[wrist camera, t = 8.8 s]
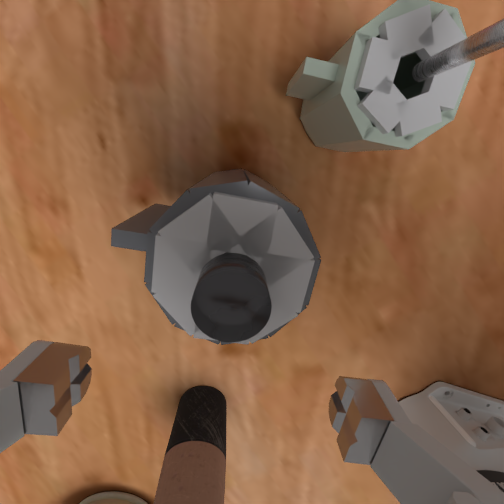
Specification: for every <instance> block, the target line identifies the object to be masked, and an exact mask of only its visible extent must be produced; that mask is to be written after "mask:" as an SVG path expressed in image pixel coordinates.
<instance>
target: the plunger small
mask: <svg viewBox="0 0 504 504" xmlns="http://www.w3.org/2000/svg"><path fill="white" fill-rule="evenodd" d="M501 48H504V19H502V20H500V21H498V22H496V23H495V24H493V25H491V26H489V27H487V28H485V29H483V30H481V31H479V32H477V33H475V34H473V35H471V36H470V37H468V38H466V39H464V40H462V41H460V42H458V43H456V44H454V45H452V46H450V47H448V48H446V49H444V50H443V51H441V52H439V53H437V54H435V55H433V56H431V57H429V58H427V59H425V60H423V61H421V62H419V63H418V64H416V65H415V66H414V68H413V71H412V77H413V79H414V80H415V81H417V82H421V81H423V80H426V79H428V78H431V77H433V76H436V75H438V74H440V73H443V72H445V71H448V70H450V69H453V68H455V67H457V66H460V65H462V64H465V63H467V62H470V61H472V60H475V59H477V58H479V57H482V56H484V55H487V54H489V53H492V52H494V51H496V50H499V49H501Z"/></svg>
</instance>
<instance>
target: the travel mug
mask: <svg viewBox="0 0 504 504" xmlns="http://www.w3.org/2000/svg"><path fill="white" fill-rule="evenodd" d="M225 472H226V400H225V397H224V396H223V394H222V393H221V392H220V391H218V390H217V389H215V388H212V387H208V386H197V387H194V388H191V389H189V390H188V391H186V392H185V393H184V394H183V396H182V397H181V400H180V403H179V406H178V410H177V413H176V417H175V421H174V424H173V428H172V432H171V435H170V439H169V443H168V446H167V450H166V453H165V457H164V461H163V465H162V470H161V474H160V478H159V483H158V487H157V491H156V495H155V500H154V504H224V493H225Z"/></svg>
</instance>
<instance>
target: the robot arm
mask: <svg viewBox="0 0 504 504" xmlns="http://www.w3.org/2000/svg"><path fill="white" fill-rule="evenodd" d="M90 358H91V349H90V348H89V347H87V346H80V345H73V344H66V343H59V342H49V341H42V340H37V341H35V342H33V343H31V344H30V345H29V346H28V347H27V348H26V349H25V350H23V351H22V352H21V353H20V354H19V355H18V356H17V357H15V358H14V359H13V360H12V361H11V362H10V363H9V364H7V365H6V366H5V367H4V368H3V369H2V370H1V371H0V453H1V452H2V451H4V450H5V449H7V448H8V447H9V446H11V445H12V444H14V443H15V442H16V441H18V440H19V439H21V438H22V437H23V436H24V434H36V435H52V436H58V434H59V433H60V431H61V430H62V428H63V427H64V425H65V424H66V422H67V421H68V420H69V418H70V417H71V415H72V406H74V405H75V404H77V403H78V402H80V401H81V400H82V398H83V397H84V395H85V394H86V392H87V389H88V387H89V384H90V381H91V375H92V372H91V368H90V366H89V365H88V364H87V362H88V361H89V360H90ZM335 387H336V389H337V391H336V392H335V393H334V394H332V395H331V398H330V402H329V417H330V421H331V425H332V427H333V428H334V429H335V430H336V431H337V432H338V433H339V435H338V437H337V443H338V446H339V449H340V452H341V455H342V458H343V461H344V462H350V463H358V464H366V465H371V466H370V467H371V468H372V469H373V470H374V472H375V473H376V474H377V475H378V476H379V478H380V479H381V480H382V481H383V483H384V484H385V485H386V486H387V487H388V489H389V490H390V491H391V492H392V494H393V495H394V496H395V497H396V498H397V500H398V501H399V502H400V503H401V504H504V401H502V400H499V399H495V398H492V397H489V396H486V395H483V394H480V393H476V392H473V391H470V390H467V389H464V388H460V387H457V386H454V385H451V384H448V383H445V382H436V383H434V384H432V385H430V386H429V387H428V388H426V389H425V390H424V391H422V392H420V393H418V394H415V395H413V396H410V397H407V398H405V399H403V400H401V401H399V402H398V401H397V399H396V398H395V396H394V395H393V393H392V392H391V390H390V388H389V387H388V385H387V384H386V383H385V382H384V381H383V380H373V379H361V378H352V377H342V376H339V378H338V379H337V381H336V383H335Z"/></svg>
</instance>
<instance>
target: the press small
mask: <svg viewBox="0 0 504 504" xmlns="http://www.w3.org/2000/svg"><path fill="white" fill-rule="evenodd" d="M466 38H467V36H466V33H465V30H464V27H463V24H462V21H461V18H460V15H459V12H458V9H457V8H454V7H451V6H447V5H444V4H440V3H437V2H433V1H429V0H397V1H396V2H395V3H394V4H392V5H391V6H390V7H388V8H387V9H386V10H384V11H383V12H382V13H380V14H379V15H378V16H376V17H375V18H374V19H372V20H371V21H370V22H368V23H367V24H366V25H364V26H363V27H362V28H360V29H359V30H358V31H356V32H355V34H354V35H353V36H352V37H351V38H350V39H349V40H348V41H347V42H346V43H345V44H344V45H343V46H342V47H341V48H340V49H339V50H338V51H337V53H336V54H335V55H334V56H333V57H332V58H331V59H330V60H329V61H328V62H326V61H322V60H318V59H314V58H310V57H306V58H305V60H304V61H303V63H302V64H301V65H300V67H299V68H298V70H297V71H296V73H295V74H294V76H293V77H292V79H291V80H290V81H289V83H288V87H287V92H286V95H287V96H291V97H296V98H300V99H303V103H302V111H301V116H300V119H301V121H302V123H303V126H304V129H305V131H306V133H307V134H308V136H309V137H310V138H311V140H312V141H313V143H314V144H315V146H317V147H322V148H326V149H331V150H336V151H341V152H360V151H383V150H405V149H410V148H411V147H413V146H414V145H416V144H417V143H419V142H421V141H422V140H424V139H425V138H427V137H428V136H430V135H431V134H433V133H434V132H436V131H437V130H439V129H440V128H442V127H443V126H445V125H446V124H448V123H449V122H451V121H452V120H453V119H454V117H455V115H456V112H457V109H458V107H459V104H460V102H461V99H462V96H463V94H464V91H465V88H466V86H467V83H468V81H469V78H470V75H471V73H472V70H473V68H474V65H475V60H472V61H470V62H467V63H465V64H462V65H460V66H457V67H455V68H453V69H450V70H448V71H445V72H443V73H440V74H438V75H436V76H433V77H431V78H428V79H426V80H423V81H421V82H417V81H415V80H414V79H413V77H412V71H413V68H414V66H415V65H416V64H418V63H419V62H421V61H423V60H425V59H427V58H429V57H431V56H433V55H435V54H437V53H439V52H441V51H443V50H444V49H446V48H448V47H450V46H452V45H454V44H456V43H458V42H460V41H462V40H464V39H466Z"/></svg>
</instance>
